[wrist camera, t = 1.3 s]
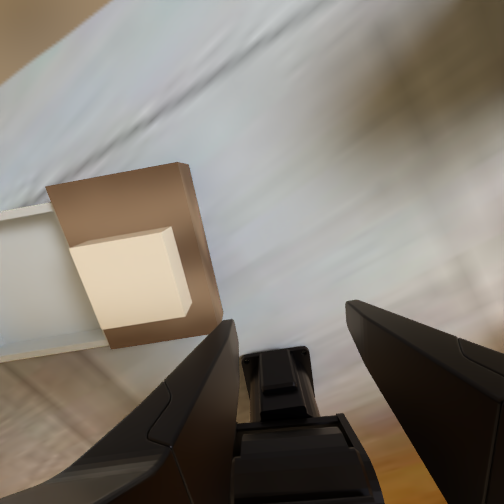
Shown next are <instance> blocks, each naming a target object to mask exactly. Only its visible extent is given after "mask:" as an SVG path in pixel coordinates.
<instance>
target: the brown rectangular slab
mask: <svg viewBox="0 0 504 504" xmlns="http://www.w3.org/2000/svg"><path fill="white" fill-rule="evenodd" d="M45 188H46V190H47V193H48V195H49V198H50V200H51V203H52V205H53V207H54V210H55V212H56V215H57V217H58V220H59V222H60V225H61V227H62V230H63V232H64V235H65V237H66V240H67V242H68V244H69V247H70V248H71V247H74V246H76V245H79V244H81V243H84V242H87V241H90V240H95V239H101V238H107V237H113V236H118V235H124V234H130V233H135V232H141V231H147V230H153V229H158V228H164V227H170V226H171V227H172V230H173V234H174V238H175V241H176V245H177V249H178V252H179V256H180V260H181V264H182V267H183V271H184V275H185V278H186V282H187V286H188V289H189V293H190V297H191V300H192V304H191V306H190V308H189V310H188V312H187V314H186V317H180V318H173V319H167V320H161V321H155V322H148V323H142V324H136V325H129V326H123V327H117V328H111V329H104V330H103V331H104V333H105V336H106V338H107V341H108V343H109V345H110V348H111V349H117V348H124V347H130V346H137V345H143V344H149V343H156V342H162V341H169V340H175V339H182V338H188V337H194V336H201V335H207V334H210V333H211V332H212V331H213V330H214V329H215V328H216V327H217V326H218V325H219V324H220V323H221V322H222V317H223V309H222V305H221V301H220V296H219V292H218V288H217V284H216V279H215V275H214V271H213V267H212V262H211V258H210V254H209V250H208V245H207V241H206V237H205V232H204V228H203V224H202V220H201V215H200V211H199V207H198V203H197V198H196V194H195V190H194V186H193V181H192V177H191V173H190V168H189V165H188V164H184V163H179V162H175V163H170V164H164V165H159V166H153V167H148V168H143V169H137V170H132V171H127V172H121V173H116V174H110V175H105V176H100V177H94V178H89V179H83V180H78V181H73V182H67V183H62V184H57V185H51V186H46V187H45Z"/></svg>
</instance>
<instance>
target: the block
mask: <svg viewBox="0 0 504 504" xmlns="http://www.w3.org/2000/svg"><path fill="white" fill-rule="evenodd" d="M69 251H70V253H71V256H72V258H73V261H74V263H75V266H76V268H77V270H78V273H79V275H80V278H81V280H82V283H83V285H84V288H85V290H86V293H87V295H88V297H89V300H90V302H91V305H92V307H93V310H94V312H95V315H96V317H97V319H98V322H99V324H100V327H101V329H102V330H104V329H111V328H117V327H123V326H129V325H136V324H142V323H148V322H155V321H161V320H167V319H173V318H180V317H186V314H187V312H188V310H189V308H190V306H191V304H192V300H191V297H190V293H189V289H188V286H187V282H186V278H185V275H184V271H183V267H182V264H181V260H180V256H179V252H178V249H177V245H176V241H175V238H174V234H173V230H172V227H171V226H170V227H164V228H158V229H153V230H147V231H141V232H135V233H130V234H124V235H118V236H113V237H107V238H101V239H95V240H90V241H87V242H84V243H81V244H79V245H76V246H74V247H71V248H69Z"/></svg>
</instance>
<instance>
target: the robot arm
mask: <svg viewBox="0 0 504 504" xmlns="http://www.w3.org/2000/svg"><path fill="white" fill-rule="evenodd" d="M345 308H346V322H347V326H348V329H349V331H350V333H351V335H352V338H353V340H354V342H355V344H356V346H357V349H358V351H359V353H360V355H361V357H362V360H363V362H364V364H365V366H366V367H367V369H368V371H369V373H370V374H371V376H372V378H373V379H374V381H375V383H376V384H377V386H378V388H379V389H380V391H381V393H382V394H383V396H384V398H385V399H386V401H387V403H388V404H389V406H390V408H391V409H392V411H393V413H394V414H395V416H396V418H397V419H398V421H399V423H400V424H401V426H402V428H403V429H404V431H405V433H406V434H407V436H408V438H409V439H410V441H411V443H412V444H413V446H414V448H415V449H416V451H417V453H418V454H419V456H420V458H421V459H422V461H423V463H424V464H425V466H426V468H427V469H428V471H429V473H430V475H431V476H432V478H433V480H434V481H435V483H436V485H437V486H438V488H439V490H440V491H441V493H442V495H443V496H444V498H445V500H446V501H447V503H448V504H504V354H503V353H500V352H497V351H495V350H492V349H489V348H486V347H483V346H481V345H478V344H475V343H472V342H470V341H467V340H464V339H462V338H457V337H456V336H454V335H451V334H448V333H445V332H443V331H440V330H437V329H435V328H432V327H429V326H427V325H424V324H421V323H419V322H416V321H413V320H411V319H408V318H405V317H403V316H400V315H397V314H395V313H392V312H389V311H386V310H384V309H381V308H378V307H376V306H373V305H370V304H368V303H365V302H362V301H360V300H351V301H347V302H346V304H345ZM303 351H306V352H304V353H302V352H303ZM245 360H249V361H245ZM242 367H243V371H244V376H245V380H246V385H247V389H248V393H249V398H250V423H239V424H237V422H236V415H237V405H238V395H239V343H238V336H237V332H236V327H235V323H234V320H233V319H229V320H223V321H222V322H221V323H220V324H219V325H218V326H217V327H216V328H215V329H214V330H213V331H212V332H211V333H210V334H209V335H208V336H207V337H206V338H205V339H204V340H203V341H202V342H201V343H200V344H199V345H198V346H197V347H196V348H195V349H194V350H193V351H192V352H191V353H190V354H189V355H188V356H187V357H186V358H185V359H184V360H183V361H182V362H181V363H180V364H179V365H178V367H177V368H176V369H175V370H174V371H173V372H172V373H171V374H170V375H169V376H168V377H167V378H166V379H165V380H164V382H162V383H161V384H160V385H159V386H158V387H157V388H156V389H155V390H154V391H153V392H152V393H151V394H150V395H149V396H148V397H147V398H146V399H145V400H144V401H143V402H142V403H141V404H140V405H139V406H137V407H136V408H135V409H134V410H133V411H132V412H131V413H130V414H129V415H128V416H126V417H125V418H124V419H123V420H122V421H121V422H120V423H119V424H117V425H116V426H115V427H114V428H113V429H112V430H111V431H110V432H108V433H107V434H106V435H105V436H104V437H103V438H102V439H101V440H99V441H98V442H97V443H96V444H95V445H94V446H93V447H91V448H90V449H89V450H88V451H87V452H86V453H85V454H84V455H82V456H81V457H80V458H79V459H78V460H77V461H75V462H74V463H73V464H72V465H71V466H69V467H68V468H67V469H65V470H64V471H62V472H61V473H59V474H58V475H56V476H54V477H53V478H51V479H49V480H47V481H45V482H43V483H41V484H39V485H37V486H34V487H32V488H29V489H26V490H23V491H20V492H17V493H15V494H12V495H9V496H6V497H3V498H1V499H0V504H385V503H384V499H383V495H382V491H381V488H380V485H379V482H378V479H377V476H376V473H375V470H374V468H373V466H372V463H371V461H370V459H369V457H368V455H367V453H366V451H365V450H364V448H363V446H362V445H361V443H360V441H359V439H358V438H357V436H356V434H355V432H354V431H353V429H352V427H351V426H350V424H349V422H348V420H347V419H346V417H345V415H344V414H343V413H340V414H336V415H334V416H322V417H320V414H319V410H318V407H317V404H316V400H315V394H314V386H313V378H312V370H311V362H310V354H309V350H308V348H307V347H305V346H301V347H294V348H288V349H281V350H275V351H268V352H261V353H255V354H248V355H244V356H243V357H242Z"/></svg>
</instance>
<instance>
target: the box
mask: <svg viewBox="0 0 504 504" xmlns="http://www.w3.org/2000/svg"><path fill="white" fill-rule="evenodd" d="M69 248H70V247H69V244H68V242H67V240H66V237H65V235H64V232H63V230H62V227H61V225H60V222H59V220H58V217H57V215H56V212H55V210H54V207H53V205H52V203H51V202H50V203H44V204H39V205H33V206H28V207H22V208H17V209H11V210H6V211H1V212H0V363H1V362H7V361H14V360H20V359H27V358H33V357H39V356H46V355H52V354H59V353H65V352H71V351H78V350H84V349H90V348H97V347H103V346H110V345H109V343H108V341H107V338H106V336H105V333H104V331H103V330H102V329H101V327H100V324H99V322H98V319H97V317H96V315H95V312H94V310H93V307H92V305H91V302H90V300H89V297H88V295H87V293H86V290H85V288H84V285H83V283H82V280H81V278H80V275H79V273H78V270H77V268H76V266H75V263H74V261H73V258H72V256H71V253H70V251H69Z"/></svg>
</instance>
